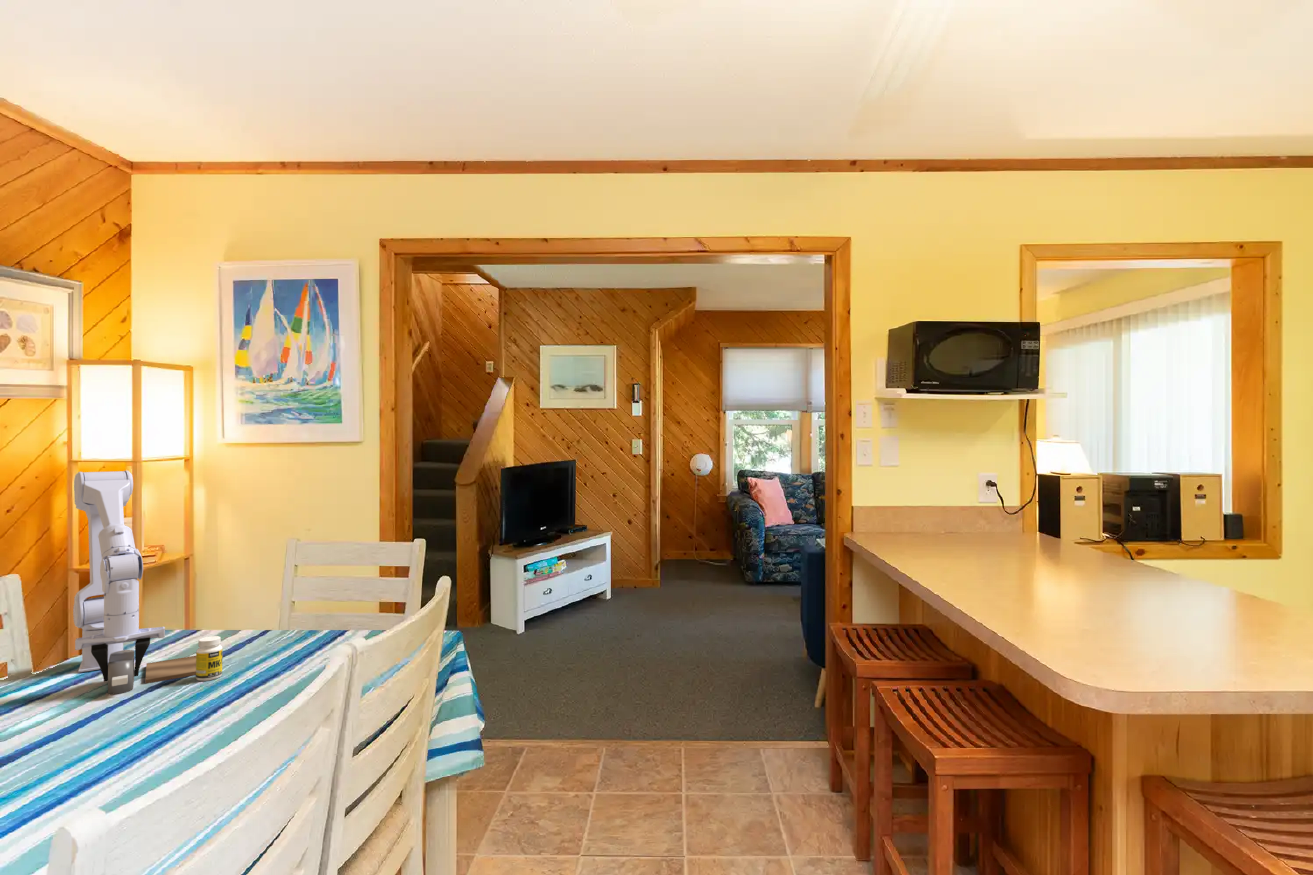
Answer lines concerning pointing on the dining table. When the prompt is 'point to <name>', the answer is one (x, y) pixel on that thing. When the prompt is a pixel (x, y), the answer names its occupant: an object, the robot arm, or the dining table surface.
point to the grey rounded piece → (121, 672)
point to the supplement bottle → (209, 658)
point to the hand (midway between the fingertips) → (121, 677)
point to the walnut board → (170, 669)
